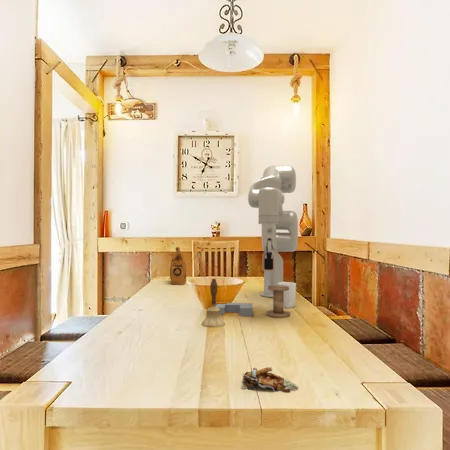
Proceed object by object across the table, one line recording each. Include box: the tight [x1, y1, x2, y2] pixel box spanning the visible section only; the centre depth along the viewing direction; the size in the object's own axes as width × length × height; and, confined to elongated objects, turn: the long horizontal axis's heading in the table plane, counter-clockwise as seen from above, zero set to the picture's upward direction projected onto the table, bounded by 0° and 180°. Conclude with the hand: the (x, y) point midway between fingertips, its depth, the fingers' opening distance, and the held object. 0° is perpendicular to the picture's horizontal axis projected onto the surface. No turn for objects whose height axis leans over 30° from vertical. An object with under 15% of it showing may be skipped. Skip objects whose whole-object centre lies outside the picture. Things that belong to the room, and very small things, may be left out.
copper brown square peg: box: [261, 253, 274, 272], centre depth 146 cm, size 4×4×7 cm
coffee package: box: [169, 246, 187, 286], centre depth 232 cm, size 10×12×22 cm
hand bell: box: [201, 278, 226, 328], centre depth 135 cm, size 8×8×16 cm
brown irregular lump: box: [240, 366, 299, 393], centre depth 83 cm, size 7×12×4 cm, turn 80°
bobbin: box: [266, 285, 291, 319], centre depth 150 cm, size 9×9×11 cm
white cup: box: [278, 281, 297, 309], centre depth 167 cm, size 8×8×10 cm
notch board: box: [216, 302, 254, 317], centre depth 153 cm, size 16×10×3 cm, turn 87°
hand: (268, 268), depth 146 cm, fingers closed on copper brown square peg, 4 cm apart
